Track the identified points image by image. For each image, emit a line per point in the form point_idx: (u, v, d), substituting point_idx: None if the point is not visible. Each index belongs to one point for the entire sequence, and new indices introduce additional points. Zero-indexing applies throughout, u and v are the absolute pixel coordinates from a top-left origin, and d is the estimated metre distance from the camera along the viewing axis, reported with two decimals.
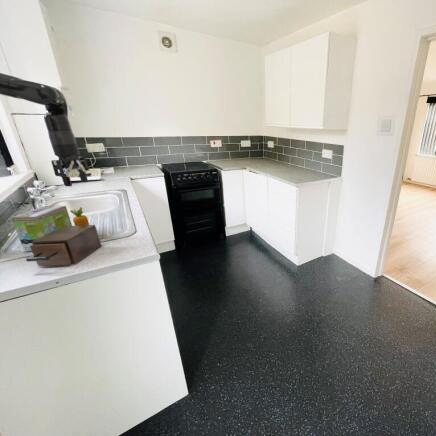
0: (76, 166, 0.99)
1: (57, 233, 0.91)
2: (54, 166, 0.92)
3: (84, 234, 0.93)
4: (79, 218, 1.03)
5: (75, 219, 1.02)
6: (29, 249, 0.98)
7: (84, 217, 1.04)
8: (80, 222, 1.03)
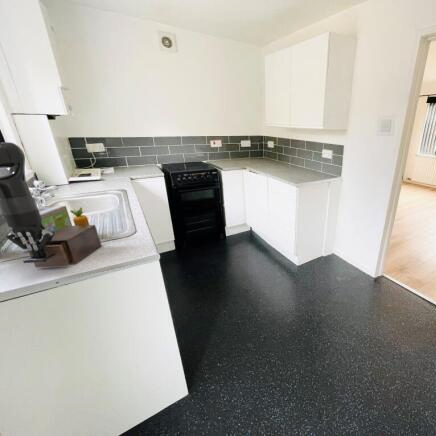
0: (27, 236, 0.78)
1: (57, 233, 0.91)
2: None
3: (84, 234, 0.93)
4: (79, 218, 1.03)
5: (75, 219, 1.02)
6: None
7: (84, 217, 1.04)
8: (80, 222, 1.03)
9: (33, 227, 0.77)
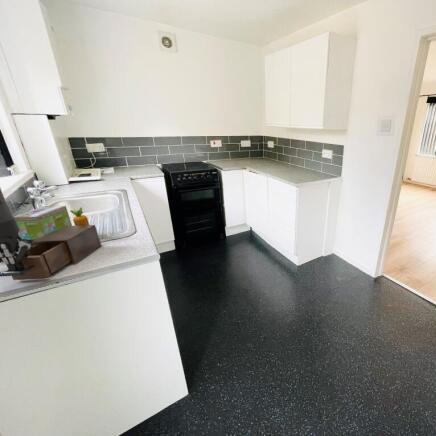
0: (2, 249, 0.71)
1: (57, 233, 0.91)
2: None
3: (84, 234, 0.93)
4: (79, 218, 1.03)
5: (75, 219, 1.02)
6: None
7: (84, 217, 1.04)
8: (80, 222, 1.03)
9: (9, 239, 0.70)
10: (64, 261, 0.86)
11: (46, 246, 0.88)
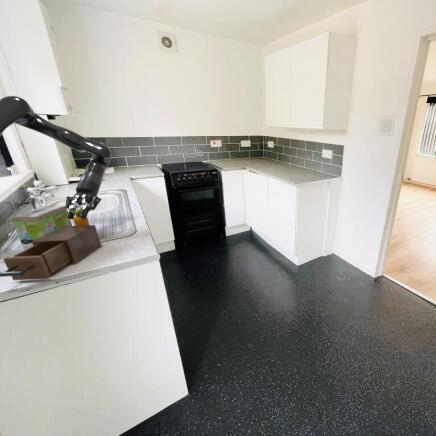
0: (81, 200, 1.05)
1: (57, 233, 0.91)
2: None
3: (84, 234, 0.93)
4: (79, 218, 1.03)
5: (75, 219, 1.02)
6: None
7: None
8: (80, 222, 1.03)
9: (89, 193, 1.06)
10: (64, 261, 0.86)
11: (46, 246, 0.88)
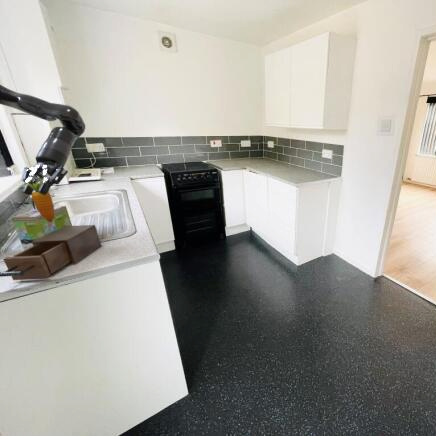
0: (42, 172, 0.84)
1: (57, 233, 0.91)
2: None
3: (84, 234, 0.93)
4: (39, 194, 0.82)
5: (33, 195, 0.82)
6: None
7: None
8: (40, 199, 0.83)
9: (53, 164, 0.86)
10: (64, 261, 0.86)
11: (46, 246, 0.88)
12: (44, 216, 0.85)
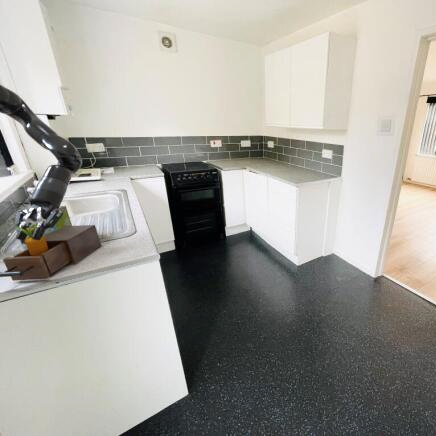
0: (36, 215, 0.80)
1: (57, 233, 0.91)
2: None
3: (84, 234, 0.93)
4: (33, 239, 0.78)
5: (27, 241, 0.78)
6: None
7: None
8: (34, 245, 0.78)
9: (47, 205, 0.81)
10: (63, 261, 0.85)
11: None
12: None
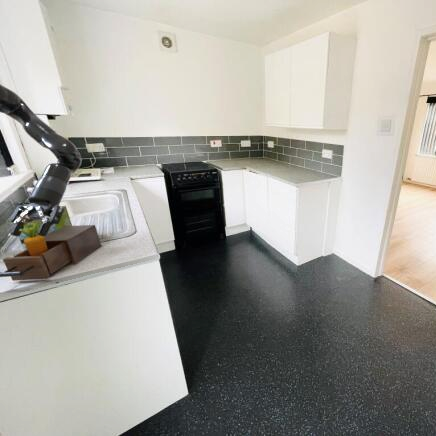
0: (37, 214, 0.80)
1: (57, 233, 0.91)
2: None
3: (84, 234, 0.93)
4: (32, 239, 0.78)
5: (26, 241, 0.78)
6: None
7: (39, 238, 0.80)
8: (33, 244, 0.78)
9: (46, 204, 0.81)
10: (63, 261, 0.85)
11: None
12: None
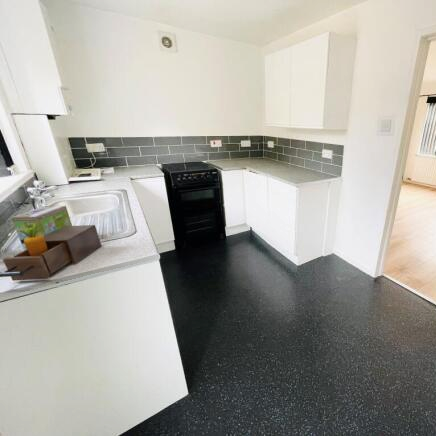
0: None
1: (57, 233, 0.91)
2: None
3: (84, 234, 0.93)
4: (32, 239, 0.78)
5: (26, 241, 0.78)
6: None
7: (39, 237, 0.80)
8: (33, 244, 0.78)
9: None
10: (63, 261, 0.85)
11: None
12: None
